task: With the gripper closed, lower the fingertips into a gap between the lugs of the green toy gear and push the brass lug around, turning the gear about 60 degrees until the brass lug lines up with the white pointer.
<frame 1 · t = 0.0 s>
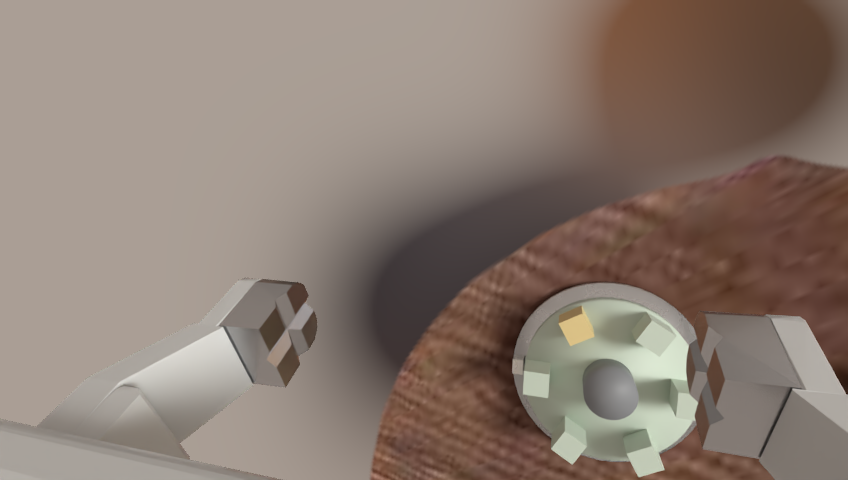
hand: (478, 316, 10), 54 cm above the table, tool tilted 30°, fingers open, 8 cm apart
green toy gear: (608, 384, 57), point 5 cm above the table, hinge at 0.0°
mount plate: (605, 370, 62), on the table
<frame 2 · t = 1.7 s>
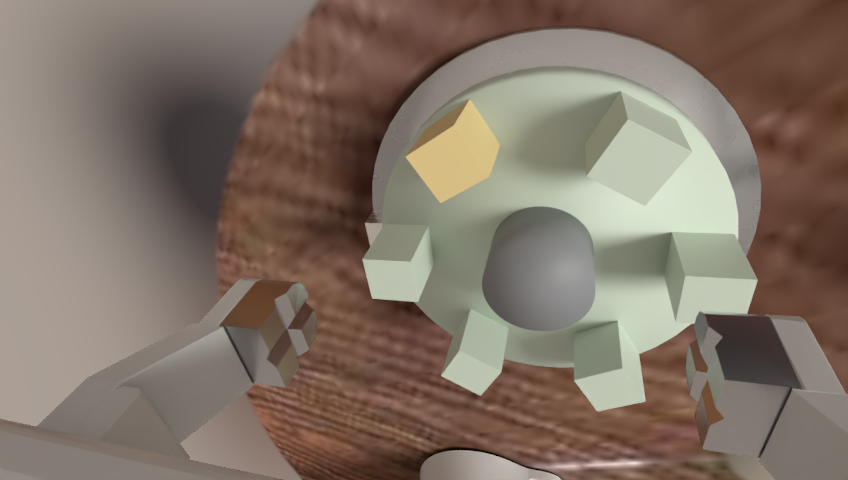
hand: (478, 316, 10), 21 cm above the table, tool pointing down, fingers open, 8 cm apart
green toy gear: (540, 257, 28), point 5 cm above the table, hinge at 0.0°
mount plate: (544, 218, 31), on the table
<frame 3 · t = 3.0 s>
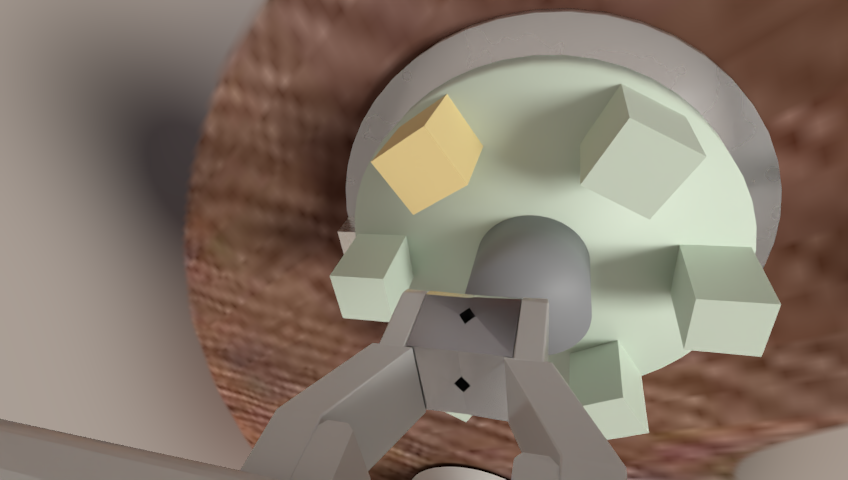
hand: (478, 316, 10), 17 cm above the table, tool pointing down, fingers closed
green toy gear: (530, 272, 25), point 5 cm above the table, hinge at 0.0°
mount plate: (536, 226, 28), on the table
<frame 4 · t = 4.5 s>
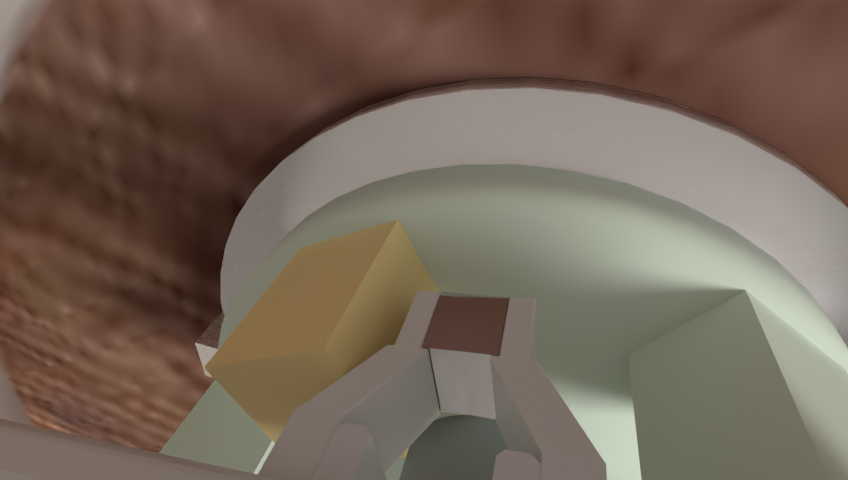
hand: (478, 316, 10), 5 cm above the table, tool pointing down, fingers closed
mount plate: (508, 383, 19), on the table
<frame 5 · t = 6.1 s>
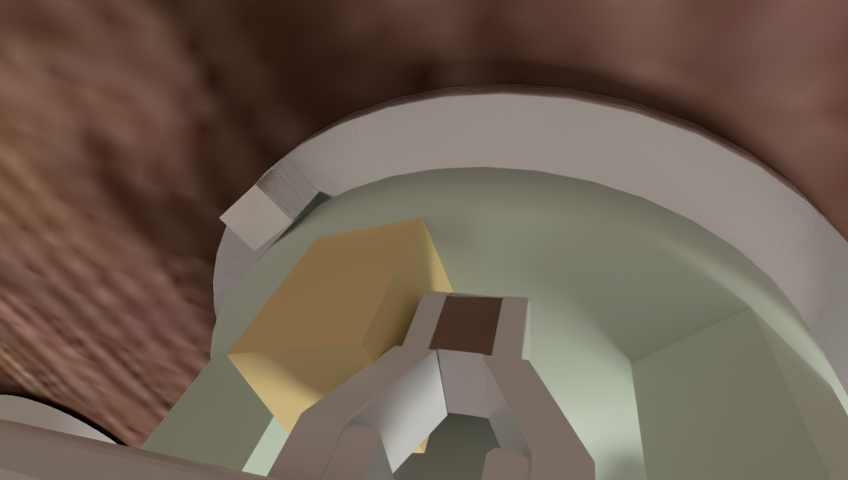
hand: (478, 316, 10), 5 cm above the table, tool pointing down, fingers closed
mount plate: (496, 381, 19), on the table
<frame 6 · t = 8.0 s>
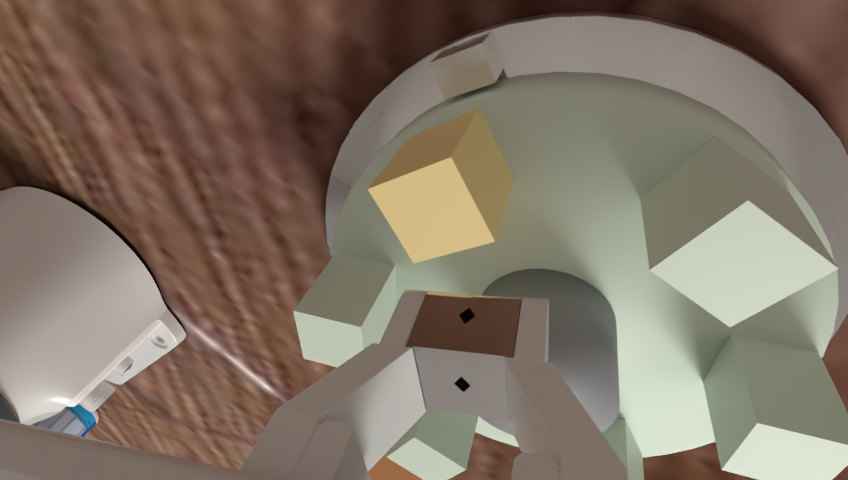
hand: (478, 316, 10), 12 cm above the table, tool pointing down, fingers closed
green toy gear: (541, 336, 20), point 5 cm above the table, hinge at 65.9°
mount plate: (550, 270, 24), on the table
beverage bottle: (72, 397, 54), on the table
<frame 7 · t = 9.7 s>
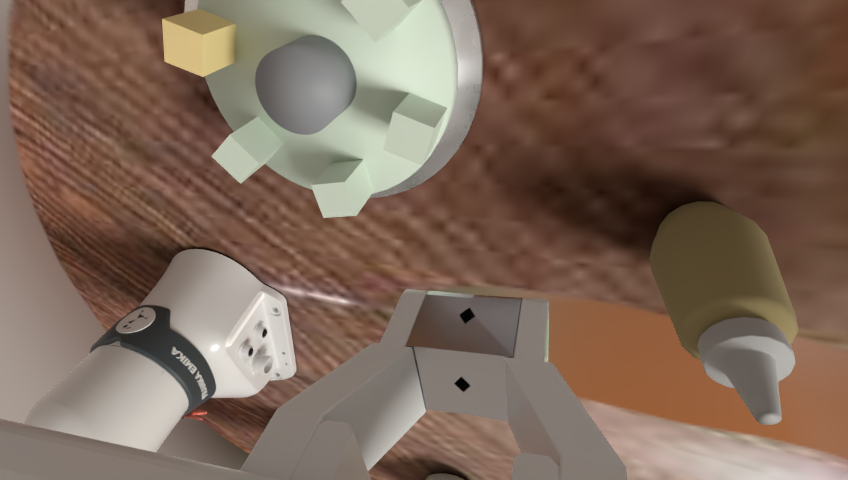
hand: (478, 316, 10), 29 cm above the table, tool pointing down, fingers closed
green toy gear: (314, 80, 35), point 5 cm above the table, hinge at 65.9°
squeeze bottle: (696, 229, 39), on the table
mount plate: (338, 64, 38), on the table
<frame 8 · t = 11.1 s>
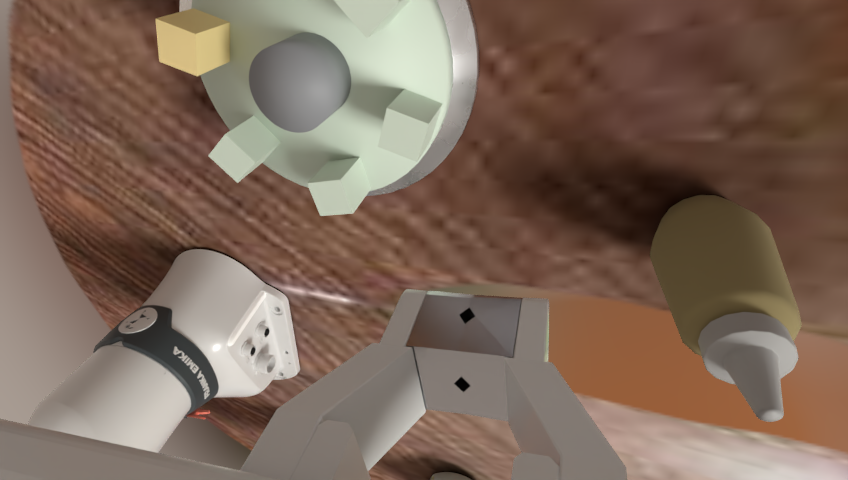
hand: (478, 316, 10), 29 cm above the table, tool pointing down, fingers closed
green toy gear: (308, 78, 35), point 5 cm above the table, hinge at 65.9°
squeeze bottle: (698, 223, 38), on the table
mount plate: (334, 61, 38), on the table
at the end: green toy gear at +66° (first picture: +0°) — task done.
